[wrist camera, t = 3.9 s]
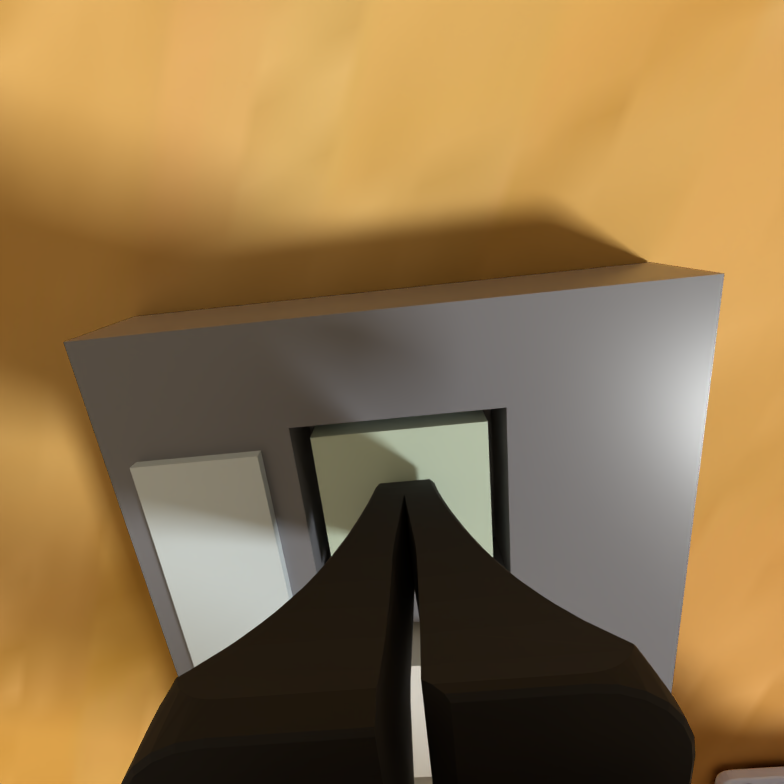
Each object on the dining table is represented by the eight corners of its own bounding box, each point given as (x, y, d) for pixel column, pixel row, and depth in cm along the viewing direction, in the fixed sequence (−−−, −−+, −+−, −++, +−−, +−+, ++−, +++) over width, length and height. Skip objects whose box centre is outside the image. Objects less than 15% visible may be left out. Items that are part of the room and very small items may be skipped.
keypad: (649, 262, 13) (734, 275, 9) (609, 802, 20) (649, 910, 17) (134, 316, 13) (53, 345, 10) (279, 823, 20) (259, 930, 17)
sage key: (477, 400, 12) (487, 421, 11) (483, 534, 14) (493, 567, 13) (319, 415, 13) (310, 438, 11) (341, 546, 14) (335, 580, 13)
